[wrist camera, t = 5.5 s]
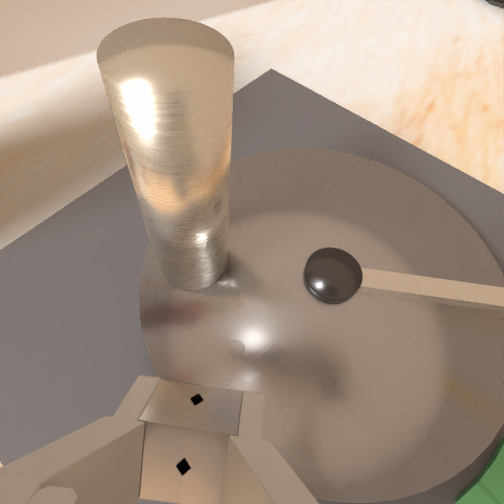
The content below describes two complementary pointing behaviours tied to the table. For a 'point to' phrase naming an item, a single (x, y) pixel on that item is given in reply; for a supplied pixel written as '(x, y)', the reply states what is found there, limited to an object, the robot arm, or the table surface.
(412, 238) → the tuning dial
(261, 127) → the tuner board
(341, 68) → the table surface
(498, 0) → the walkie-talkie
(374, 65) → the table surface
